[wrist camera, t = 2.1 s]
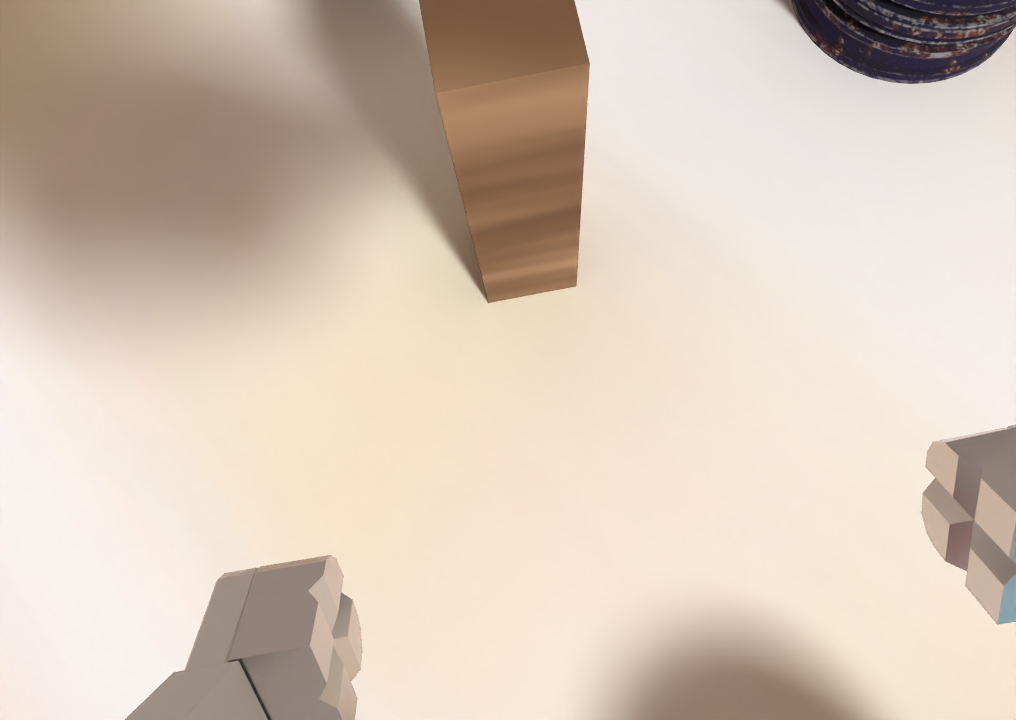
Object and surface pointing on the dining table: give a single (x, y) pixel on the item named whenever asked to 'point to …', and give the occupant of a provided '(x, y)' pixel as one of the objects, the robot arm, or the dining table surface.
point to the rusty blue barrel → (908, 35)
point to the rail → (514, 133)
